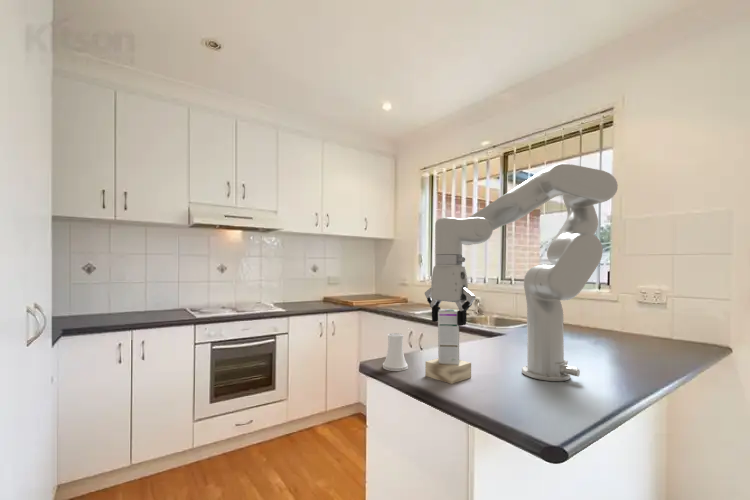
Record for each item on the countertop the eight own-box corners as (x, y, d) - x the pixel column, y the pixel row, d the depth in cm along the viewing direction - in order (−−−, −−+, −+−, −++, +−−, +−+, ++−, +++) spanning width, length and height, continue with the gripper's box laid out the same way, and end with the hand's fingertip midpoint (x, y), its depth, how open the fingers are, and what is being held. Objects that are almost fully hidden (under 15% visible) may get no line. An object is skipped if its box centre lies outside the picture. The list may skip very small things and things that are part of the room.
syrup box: (459, 365, 98) (459, 311, 99) (437, 363, 100) (437, 310, 100) (459, 360, 104) (459, 309, 105) (438, 358, 105) (438, 308, 106)
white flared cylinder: (392, 363, 115) (393, 331, 116) (412, 367, 111) (412, 334, 111) (377, 367, 110) (378, 334, 110) (397, 372, 105) (398, 337, 105)
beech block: (471, 377, 101) (471, 362, 101) (451, 383, 95) (451, 368, 95) (445, 370, 108) (445, 356, 108) (425, 375, 102) (425, 361, 102)
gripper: (482, 261, 99) (483, 325, 98) (433, 261, 112) (433, 318, 111) (466, 261, 94) (467, 328, 93) (416, 261, 107) (416, 320, 106)
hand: (448, 322), depth 102 cm, fingers open, 8 cm apart
